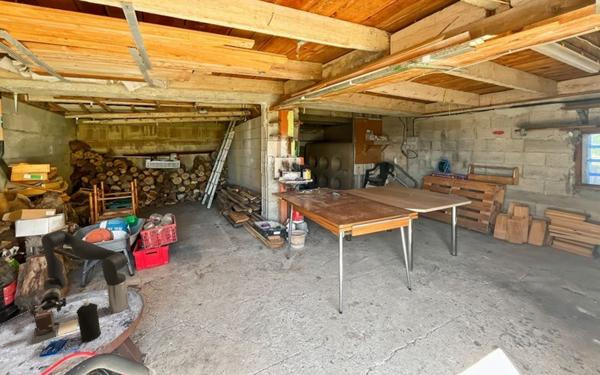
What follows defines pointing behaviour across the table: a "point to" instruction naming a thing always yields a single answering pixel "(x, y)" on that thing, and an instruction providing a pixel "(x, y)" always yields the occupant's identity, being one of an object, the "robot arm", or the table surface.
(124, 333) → the table surface
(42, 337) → the open rectangular frame
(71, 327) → the pad
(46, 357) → the table surface
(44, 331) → the box
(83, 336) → the aerosol can
